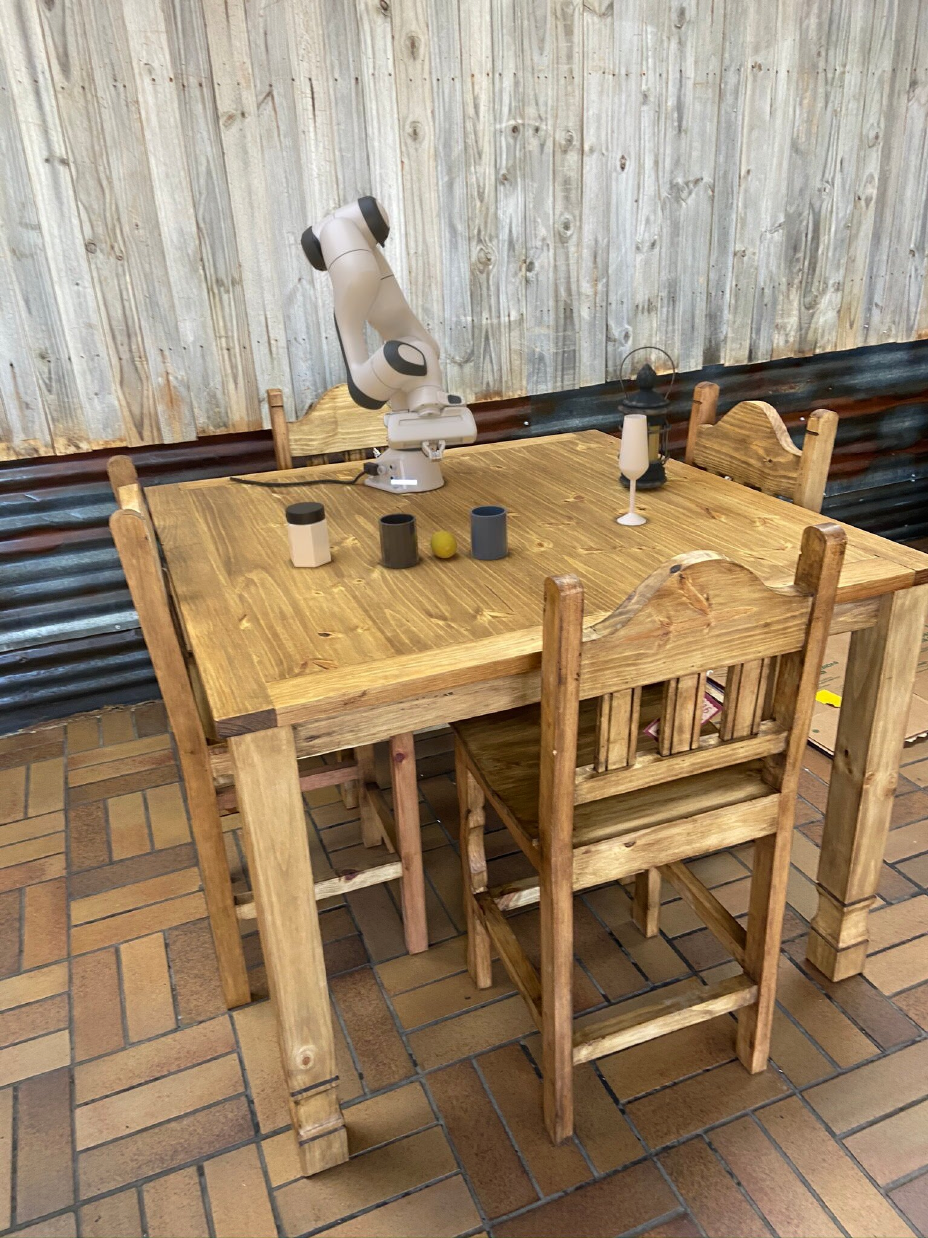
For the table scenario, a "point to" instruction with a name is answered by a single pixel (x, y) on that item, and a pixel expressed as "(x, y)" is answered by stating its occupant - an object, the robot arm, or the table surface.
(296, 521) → the jar
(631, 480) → the champagne flute
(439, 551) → the lemon
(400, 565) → the charcoal cup
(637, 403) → the lantern
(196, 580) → the table surface
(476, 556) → the slate cup
